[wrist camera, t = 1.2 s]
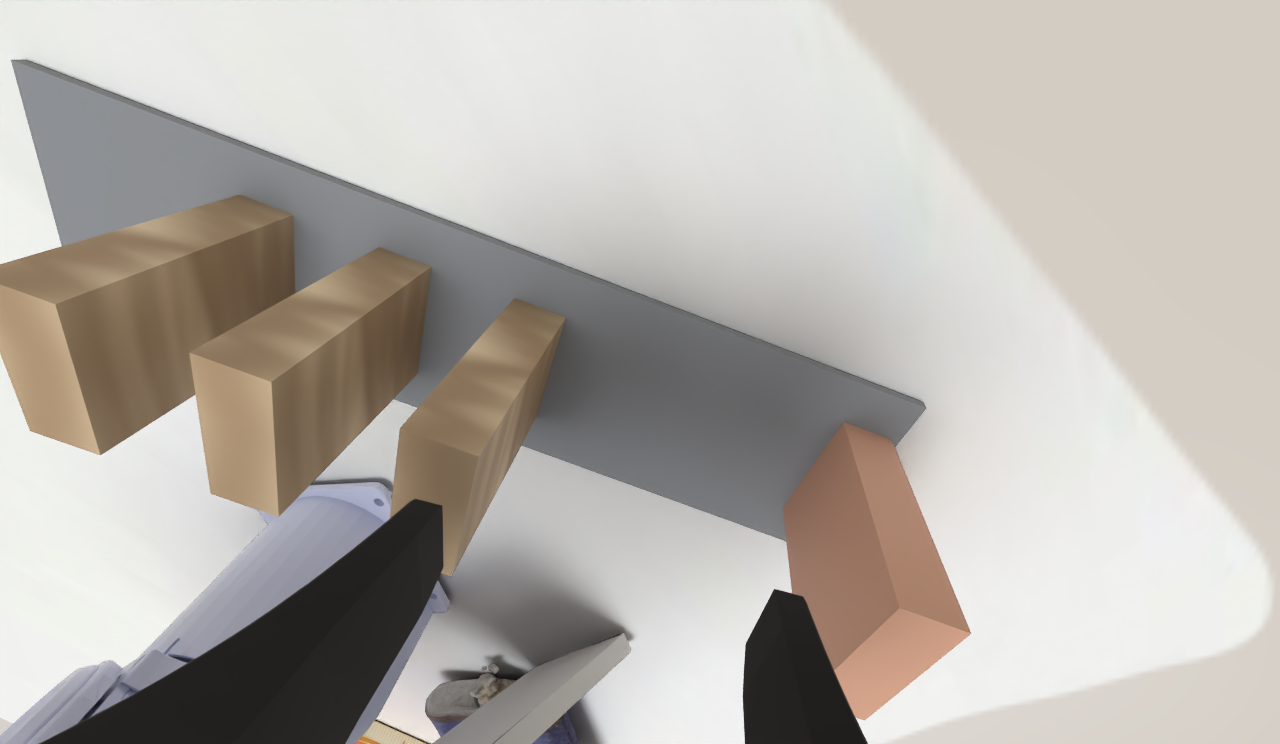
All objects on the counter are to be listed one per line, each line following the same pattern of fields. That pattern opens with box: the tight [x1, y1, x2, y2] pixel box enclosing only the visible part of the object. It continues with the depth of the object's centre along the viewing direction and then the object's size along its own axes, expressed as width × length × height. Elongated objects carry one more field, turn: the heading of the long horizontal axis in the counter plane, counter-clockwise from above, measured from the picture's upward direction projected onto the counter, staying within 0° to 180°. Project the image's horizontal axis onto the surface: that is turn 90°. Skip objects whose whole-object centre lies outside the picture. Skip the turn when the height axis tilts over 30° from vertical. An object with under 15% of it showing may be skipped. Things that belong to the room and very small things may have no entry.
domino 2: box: [189, 247, 431, 517], centre depth 17 cm, size 2×5×8 cm, turn 161°
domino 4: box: [783, 422, 971, 720], centre depth 18 cm, size 2×5×8 cm, turn 161°
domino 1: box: [0, 195, 295, 455], centre depth 17 cm, size 2×5×8 cm, turn 161°
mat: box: [11, 60, 926, 541], centre depth 21 cm, size 34×8×1 cm, turn 71°
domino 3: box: [390, 298, 566, 577], centre depth 18 cm, size 2×5×8 cm, turn 161°
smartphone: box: [432, 633, 631, 744], centre depth 25 cm, size 8×1×15 cm
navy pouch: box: [425, 664, 580, 744], centre depth 34 cm, size 9×3×11 cm
